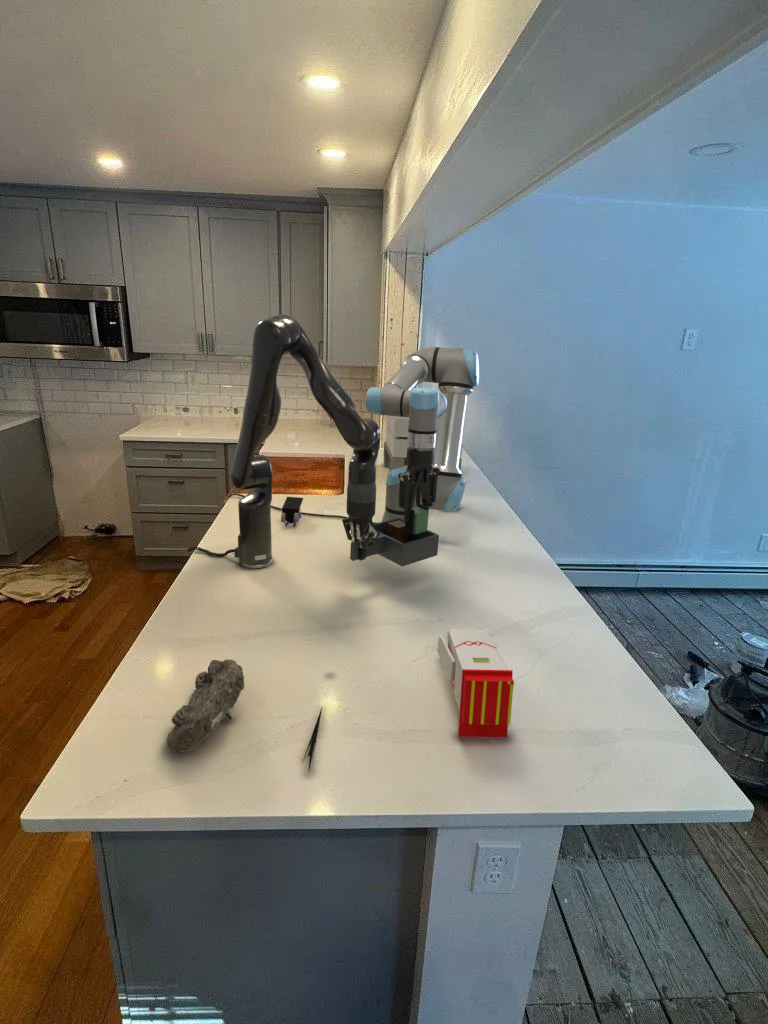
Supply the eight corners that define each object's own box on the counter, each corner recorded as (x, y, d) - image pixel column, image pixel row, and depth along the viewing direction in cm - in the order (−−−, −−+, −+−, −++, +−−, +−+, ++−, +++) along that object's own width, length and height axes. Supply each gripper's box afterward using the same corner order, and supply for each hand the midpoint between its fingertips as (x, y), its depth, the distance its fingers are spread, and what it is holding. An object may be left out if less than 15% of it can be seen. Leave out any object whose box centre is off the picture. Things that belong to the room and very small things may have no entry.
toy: (488, 613, 130) (523, 677, 101) (484, 667, 133) (517, 744, 104) (435, 612, 130) (455, 676, 101) (432, 666, 133) (451, 743, 103)
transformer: (382, 463, 289) (386, 382, 275) (445, 464, 293) (451, 384, 279) (390, 482, 257) (394, 392, 243) (460, 483, 261) (468, 394, 247)
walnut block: (386, 542, 166) (387, 522, 164) (397, 539, 169) (399, 520, 167) (396, 547, 163) (398, 527, 161) (408, 543, 165) (409, 524, 163)
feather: (331, 679, 122) (336, 673, 122) (307, 777, 96) (313, 769, 95) (324, 675, 122) (329, 669, 121) (298, 772, 95) (304, 764, 95)
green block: (404, 529, 159) (405, 509, 157) (416, 526, 161) (417, 506, 159) (415, 534, 155) (416, 513, 153) (427, 531, 158) (428, 510, 156)
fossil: (192, 660, 117) (244, 628, 112) (224, 691, 120) (276, 661, 115) (142, 746, 98) (202, 712, 93) (182, 779, 101) (242, 748, 96)
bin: (333, 554, 157) (333, 533, 155) (398, 536, 172) (399, 517, 170) (371, 576, 145) (372, 554, 143) (437, 555, 161) (439, 534, 159)
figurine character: (299, 532, 200) (304, 513, 214) (298, 513, 197) (303, 495, 210) (280, 532, 200) (286, 513, 213) (279, 512, 197) (285, 494, 210)
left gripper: (334, 492, 149) (333, 553, 155) (366, 507, 139) (364, 571, 145) (356, 488, 154) (354, 546, 159) (389, 501, 144) (386, 563, 150)
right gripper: (406, 454, 142) (401, 540, 150) (454, 446, 153) (447, 527, 161) (387, 448, 148) (383, 531, 156) (434, 441, 159) (428, 519, 167)
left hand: (359, 558), depth 152 cm, fingers closed on bin, 1 cm apart
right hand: (415, 529), depth 158 cm, fingers closed on green block, 4 cm apart
